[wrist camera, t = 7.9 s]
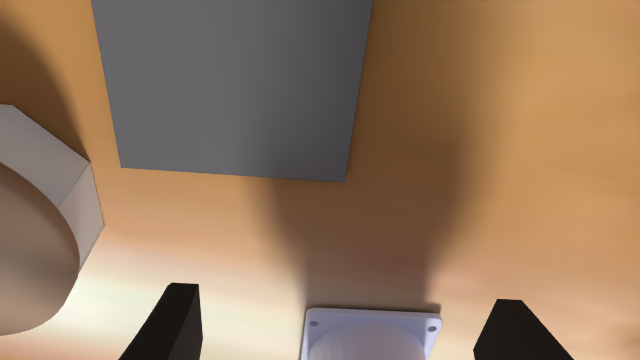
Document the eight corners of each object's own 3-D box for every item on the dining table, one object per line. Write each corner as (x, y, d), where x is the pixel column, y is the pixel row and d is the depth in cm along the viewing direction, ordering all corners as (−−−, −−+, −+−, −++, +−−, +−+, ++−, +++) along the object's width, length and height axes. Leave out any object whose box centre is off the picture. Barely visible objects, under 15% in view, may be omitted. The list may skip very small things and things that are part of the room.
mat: (344, 177, 22) (344, 182, 21) (124, 162, 21) (120, 167, 21) (380, -61, 16) (382, -59, 16) (79, -93, 15) (74, -92, 15)
